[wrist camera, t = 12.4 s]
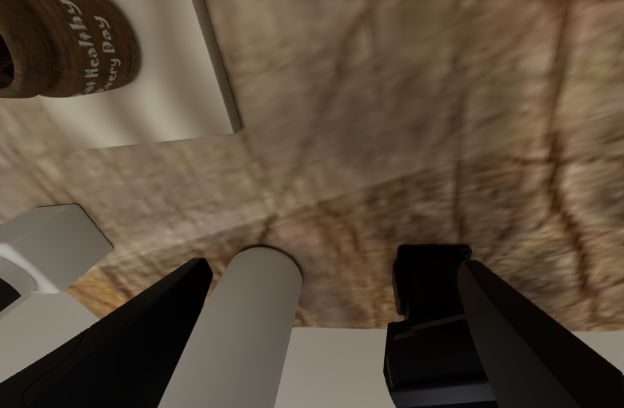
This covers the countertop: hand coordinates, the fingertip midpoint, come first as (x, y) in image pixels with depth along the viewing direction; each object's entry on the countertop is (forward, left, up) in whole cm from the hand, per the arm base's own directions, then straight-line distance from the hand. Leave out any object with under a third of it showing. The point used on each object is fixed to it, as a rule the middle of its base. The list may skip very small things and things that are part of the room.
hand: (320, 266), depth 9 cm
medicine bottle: (+34, +8, -13) cm, 37 cm away
